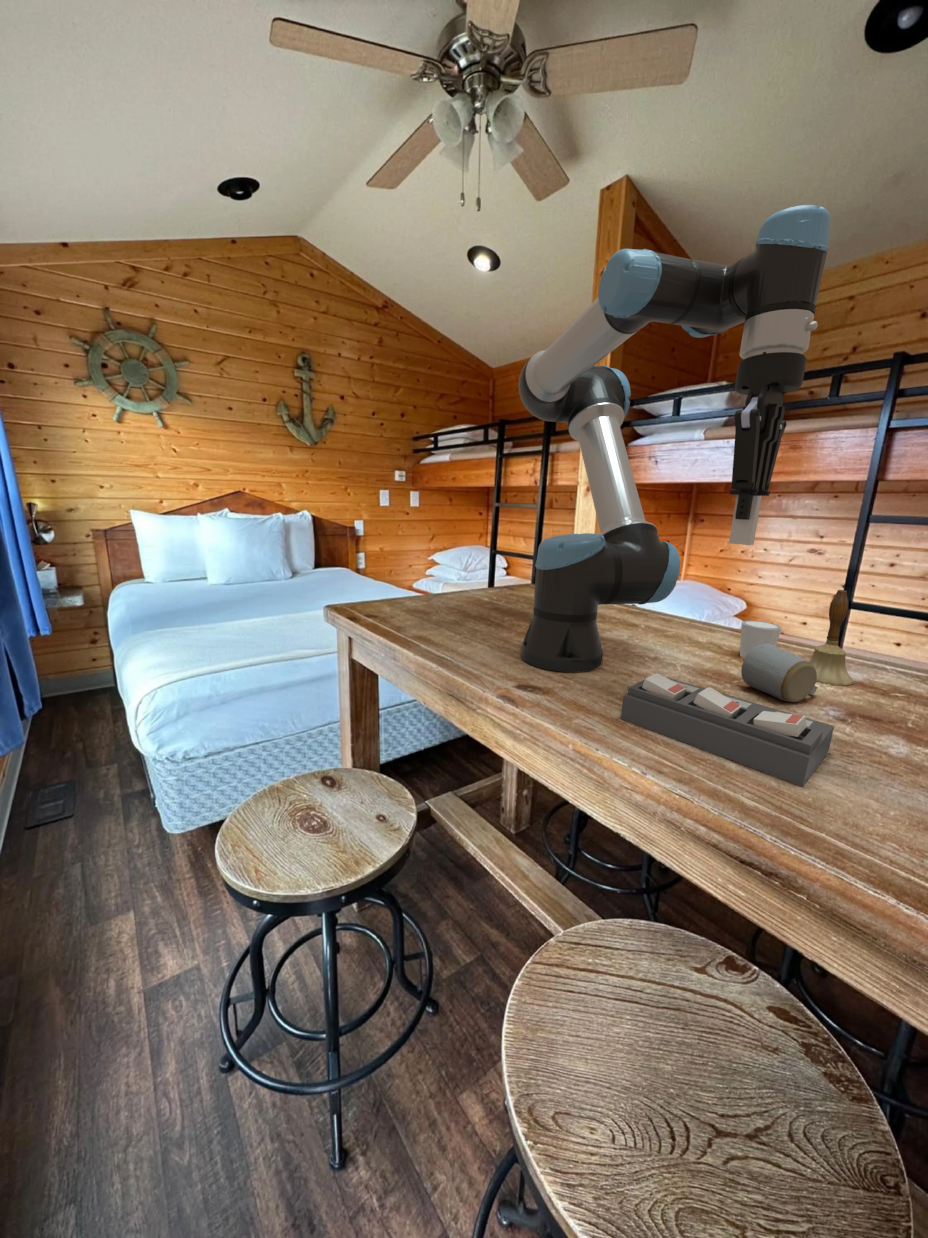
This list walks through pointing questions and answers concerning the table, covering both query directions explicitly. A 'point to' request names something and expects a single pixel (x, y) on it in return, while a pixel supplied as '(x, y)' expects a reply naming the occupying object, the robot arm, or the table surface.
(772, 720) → the rocker
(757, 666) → the ceramic mug
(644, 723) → the rocker switch box
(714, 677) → the table surface
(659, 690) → the rocker
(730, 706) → the middle rocker
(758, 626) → the white cylinder
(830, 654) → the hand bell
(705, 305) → the robot arm
